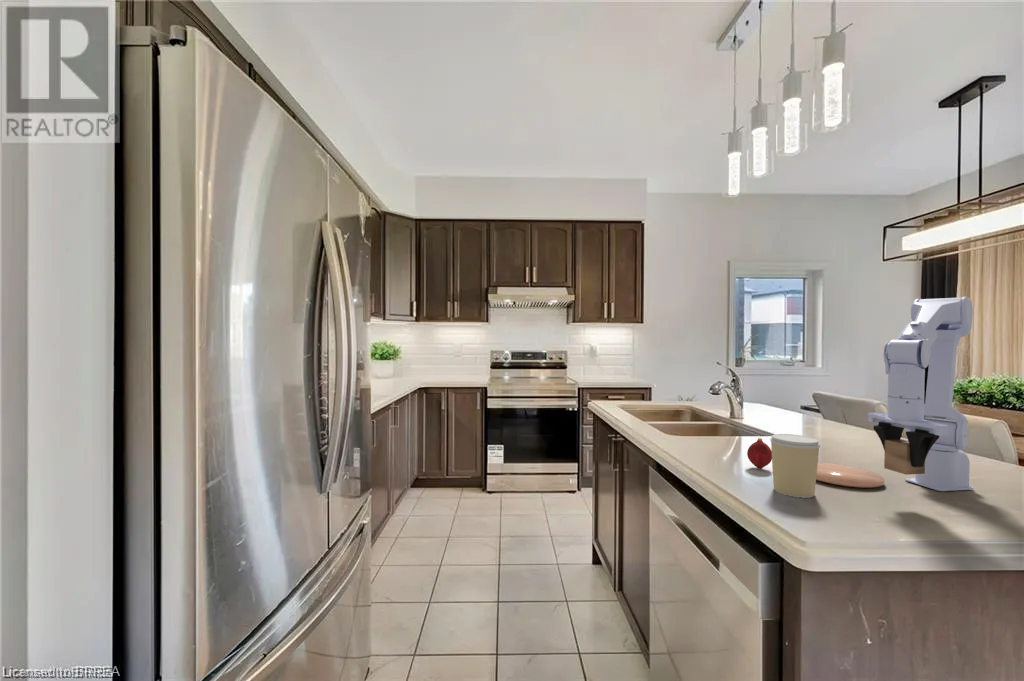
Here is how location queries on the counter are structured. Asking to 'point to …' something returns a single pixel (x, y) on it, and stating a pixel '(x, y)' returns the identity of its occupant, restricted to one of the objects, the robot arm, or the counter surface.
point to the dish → (848, 475)
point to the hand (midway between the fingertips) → (904, 463)
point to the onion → (759, 454)
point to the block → (900, 457)
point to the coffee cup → (794, 464)
